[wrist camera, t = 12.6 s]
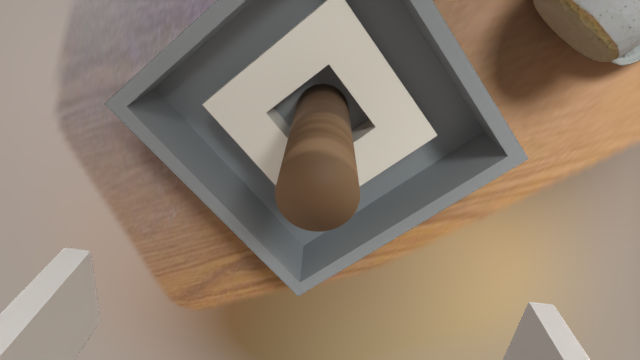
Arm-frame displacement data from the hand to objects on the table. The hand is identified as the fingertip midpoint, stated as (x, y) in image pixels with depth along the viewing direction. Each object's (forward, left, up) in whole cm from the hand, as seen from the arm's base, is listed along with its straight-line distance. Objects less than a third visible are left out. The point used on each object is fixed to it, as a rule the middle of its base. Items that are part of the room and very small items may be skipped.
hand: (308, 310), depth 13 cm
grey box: (0, 0, -23) cm, 23 cm away
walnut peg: (0, 0, -22) cm, 22 cm away
